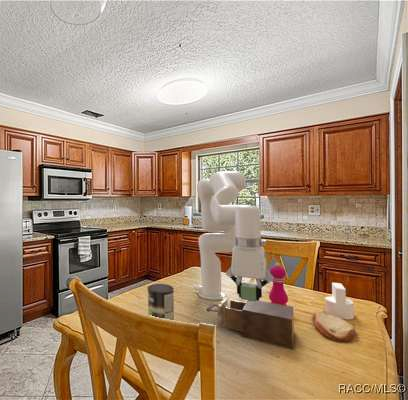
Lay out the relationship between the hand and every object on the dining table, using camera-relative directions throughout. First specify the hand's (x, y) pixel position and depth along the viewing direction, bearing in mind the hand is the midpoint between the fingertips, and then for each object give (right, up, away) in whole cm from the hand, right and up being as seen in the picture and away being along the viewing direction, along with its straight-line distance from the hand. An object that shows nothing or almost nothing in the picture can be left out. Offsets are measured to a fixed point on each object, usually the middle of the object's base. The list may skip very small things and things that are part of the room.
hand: (249, 297), depth 90 cm
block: (0, 0, 0) cm, 0 cm away
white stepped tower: (+49, -15, +23) cm, 56 cm away
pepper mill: (+29, -16, +31) cm, 45 cm away
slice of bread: (+36, -16, +11) cm, 41 cm away
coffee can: (-25, -17, +19) cm, 36 cm away
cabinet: (+11, -16, +7) cm, 21 cm away
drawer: (+1, -15, +14) cm, 21 cm away
